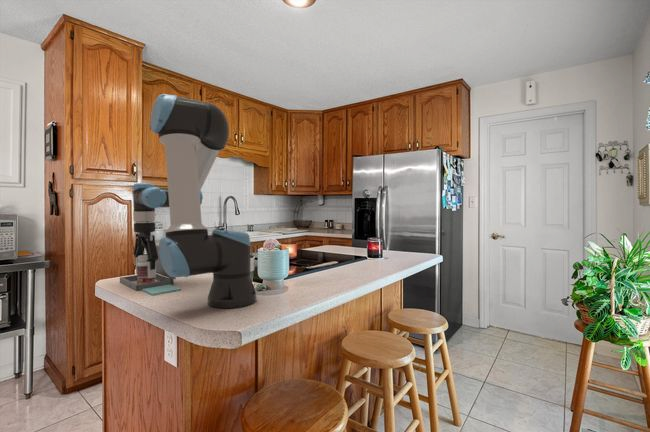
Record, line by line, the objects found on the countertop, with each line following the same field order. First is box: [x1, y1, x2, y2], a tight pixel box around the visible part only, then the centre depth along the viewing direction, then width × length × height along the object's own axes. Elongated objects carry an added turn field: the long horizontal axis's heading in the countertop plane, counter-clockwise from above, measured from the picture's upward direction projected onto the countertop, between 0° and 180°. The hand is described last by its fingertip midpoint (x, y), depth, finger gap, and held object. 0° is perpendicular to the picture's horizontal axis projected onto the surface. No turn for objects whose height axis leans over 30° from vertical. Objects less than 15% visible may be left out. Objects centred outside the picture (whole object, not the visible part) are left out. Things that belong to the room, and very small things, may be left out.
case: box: [119, 244, 177, 292], centre depth 134 cm, size 20×14×14 cm
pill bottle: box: [136, 254, 156, 285], centre depth 134 cm, size 6×6×11 cm
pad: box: [141, 284, 182, 296], centre depth 123 cm, size 10×10×1 cm
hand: (145, 275), depth 134 cm, fingers open, 13 cm apart
